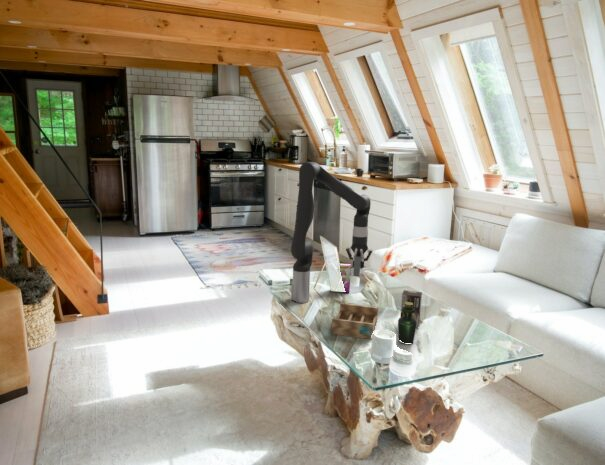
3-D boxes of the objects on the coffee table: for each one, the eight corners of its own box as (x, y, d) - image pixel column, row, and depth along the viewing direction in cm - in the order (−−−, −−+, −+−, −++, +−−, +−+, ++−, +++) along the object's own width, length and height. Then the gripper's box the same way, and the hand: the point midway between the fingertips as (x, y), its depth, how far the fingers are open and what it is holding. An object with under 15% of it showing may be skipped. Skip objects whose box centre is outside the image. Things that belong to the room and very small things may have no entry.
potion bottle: (408, 347, 210) (412, 308, 206) (392, 341, 215) (395, 303, 212) (418, 341, 216) (421, 303, 212) (402, 336, 221) (405, 298, 217)
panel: (353, 275, 240) (354, 256, 238) (356, 269, 252) (357, 251, 250) (359, 276, 240) (360, 257, 238) (362, 270, 251) (363, 251, 249)
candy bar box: (330, 292, 278) (331, 264, 275) (330, 289, 283) (331, 262, 280) (349, 293, 277) (351, 266, 274) (349, 290, 282) (351, 263, 279)
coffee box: (419, 323, 237) (422, 292, 233) (418, 328, 231) (421, 296, 227) (401, 320, 240) (403, 289, 236) (399, 325, 234) (401, 293, 230)
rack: (331, 333, 221) (332, 319, 219) (340, 316, 243) (340, 303, 241) (372, 339, 216) (373, 324, 215) (377, 320, 238) (378, 307, 237)
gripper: (345, 235, 240) (343, 268, 243) (373, 237, 236) (371, 271, 240) (347, 232, 247) (345, 265, 250) (374, 234, 244) (372, 267, 247)
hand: (358, 267), depth 245 cm, fingers closed on panel, 3 cm apart
